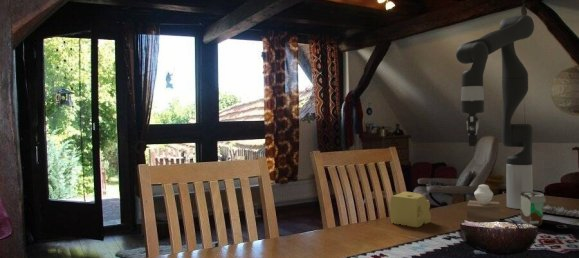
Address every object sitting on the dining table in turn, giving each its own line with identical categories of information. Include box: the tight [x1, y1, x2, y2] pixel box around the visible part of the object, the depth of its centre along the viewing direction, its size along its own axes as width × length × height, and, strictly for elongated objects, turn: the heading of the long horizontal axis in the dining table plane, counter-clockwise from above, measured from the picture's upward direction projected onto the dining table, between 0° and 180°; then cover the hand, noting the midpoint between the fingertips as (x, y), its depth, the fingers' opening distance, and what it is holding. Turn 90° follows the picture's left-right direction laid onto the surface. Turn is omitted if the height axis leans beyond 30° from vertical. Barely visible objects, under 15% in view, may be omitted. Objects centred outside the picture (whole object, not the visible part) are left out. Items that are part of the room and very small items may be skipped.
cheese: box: [390, 191, 432, 228], centre depth 153 cm, size 10×11×10 cm
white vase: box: [473, 183, 494, 205], centre depth 154 cm, size 6×6×7 cm
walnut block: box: [466, 200, 501, 222], centre depth 154 cm, size 10×10×6 cm
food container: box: [520, 191, 547, 227], centre depth 150 cm, size 12×6×10 cm, turn 168°
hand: (473, 145), depth 156 cm, fingers open, 8 cm apart
